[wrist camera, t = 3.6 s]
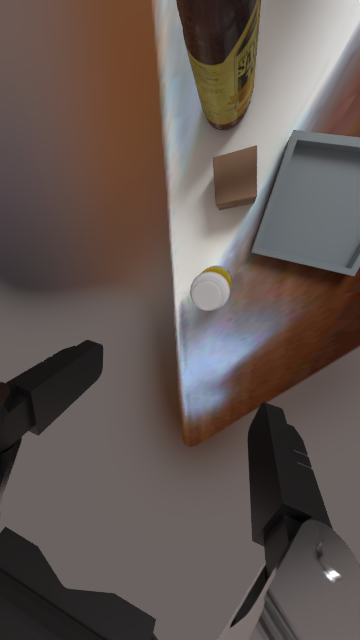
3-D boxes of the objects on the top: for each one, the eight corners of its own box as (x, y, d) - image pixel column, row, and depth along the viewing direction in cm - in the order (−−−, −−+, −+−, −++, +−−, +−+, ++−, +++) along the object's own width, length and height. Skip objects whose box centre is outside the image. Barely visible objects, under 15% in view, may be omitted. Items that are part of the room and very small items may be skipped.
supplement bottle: (204, 261, 33) (190, 269, 24) (236, 269, 32) (235, 281, 23) (196, 292, 35) (181, 310, 26) (226, 300, 34) (221, 322, 25)
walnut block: (217, 171, 28) (213, 157, 23) (253, 161, 26) (256, 145, 22) (219, 209, 29) (215, 204, 25) (254, 202, 28) (256, 195, 23)
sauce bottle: (248, 130, 25) (268, -132, 8) (201, 135, 27) (127, -73, 9) (257, 57, 23) (320, -597, 5) (205, 68, 24) (111, -402, 7)
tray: (289, 138, 24) (293, 130, 23) (416, 153, 22) (432, 145, 20) (250, 251, 30) (251, 252, 28) (346, 273, 28) (354, 276, 26)
